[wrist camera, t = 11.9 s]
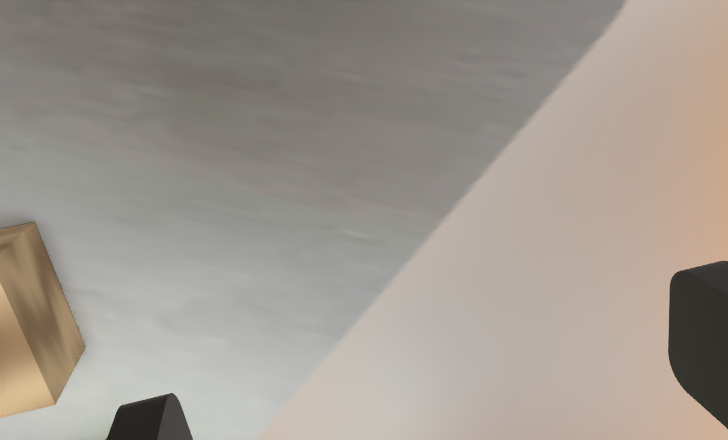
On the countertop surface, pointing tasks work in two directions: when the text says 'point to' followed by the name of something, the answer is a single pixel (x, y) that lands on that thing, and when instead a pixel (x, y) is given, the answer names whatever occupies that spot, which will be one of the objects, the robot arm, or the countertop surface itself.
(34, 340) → the oak block
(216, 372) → the countertop surface
